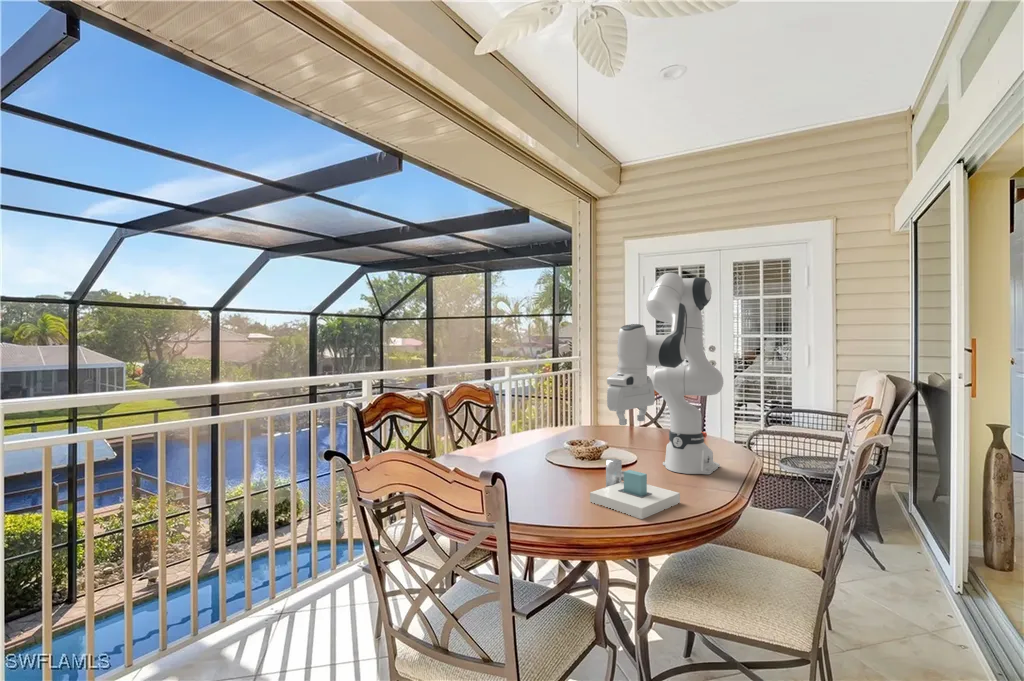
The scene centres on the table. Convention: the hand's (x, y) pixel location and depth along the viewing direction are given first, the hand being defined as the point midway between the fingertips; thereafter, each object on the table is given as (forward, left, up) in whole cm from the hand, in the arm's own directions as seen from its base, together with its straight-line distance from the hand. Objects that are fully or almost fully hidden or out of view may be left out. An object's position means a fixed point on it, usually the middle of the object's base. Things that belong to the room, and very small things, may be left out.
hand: (632, 422), depth 146 cm
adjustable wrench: (-14, -8, -24) cm, 29 cm away
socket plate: (+1, +2, -24) cm, 24 cm away
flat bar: (+1, +2, -24) cm, 24 cm away
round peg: (-6, -11, -24) cm, 27 cm away
